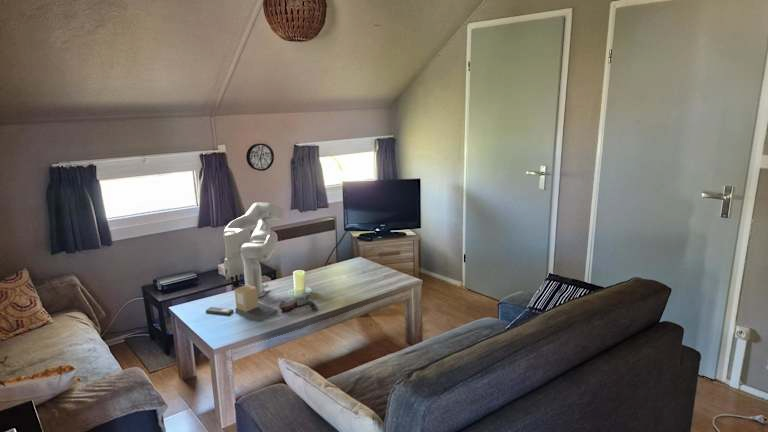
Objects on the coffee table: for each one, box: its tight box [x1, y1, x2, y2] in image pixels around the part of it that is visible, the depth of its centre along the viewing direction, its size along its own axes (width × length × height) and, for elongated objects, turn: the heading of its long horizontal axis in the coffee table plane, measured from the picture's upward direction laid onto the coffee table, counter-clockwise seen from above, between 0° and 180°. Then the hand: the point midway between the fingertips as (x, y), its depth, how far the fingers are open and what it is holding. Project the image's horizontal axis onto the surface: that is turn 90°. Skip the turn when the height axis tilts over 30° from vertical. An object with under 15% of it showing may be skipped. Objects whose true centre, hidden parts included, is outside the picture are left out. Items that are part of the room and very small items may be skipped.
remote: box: [205, 306, 234, 316], centre depth 263 cm, size 14×4×2 cm, turn 74°
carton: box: [234, 284, 259, 312], centre depth 261 cm, size 8×8×11 cm
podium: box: [235, 302, 279, 323], centre depth 261 cm, size 12×20×2 cm, turn 53°
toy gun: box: [278, 296, 319, 314], centre depth 262 cm, size 4×20×10 cm, turn 95°
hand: (236, 286), depth 265 cm, fingers closed
